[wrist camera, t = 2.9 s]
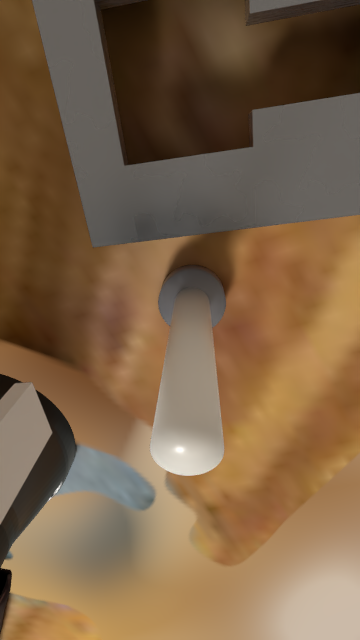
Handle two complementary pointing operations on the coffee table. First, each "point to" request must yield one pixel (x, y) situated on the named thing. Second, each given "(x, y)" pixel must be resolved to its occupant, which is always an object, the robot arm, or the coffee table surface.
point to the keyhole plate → (199, 170)
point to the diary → (4, 591)
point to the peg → (189, 374)
